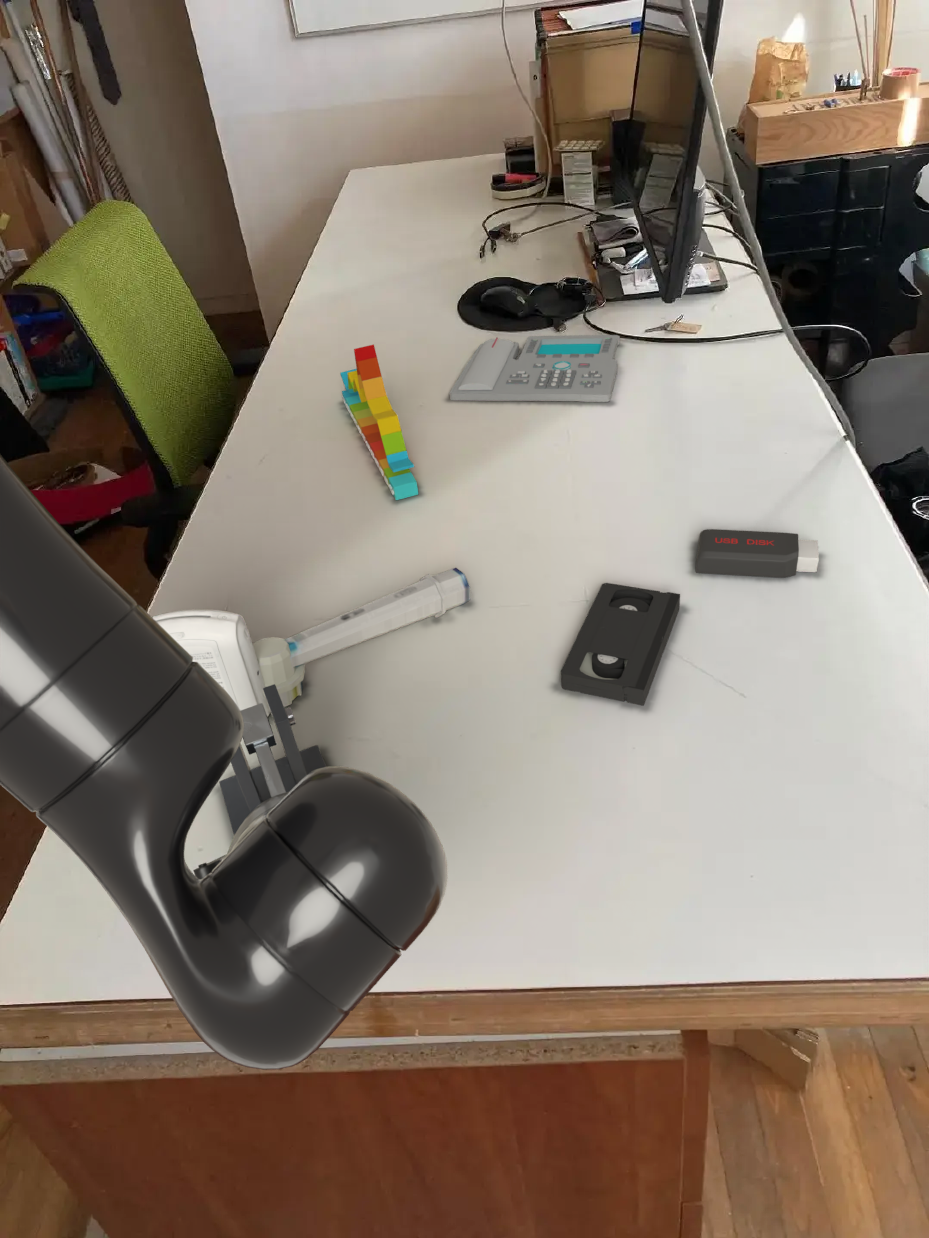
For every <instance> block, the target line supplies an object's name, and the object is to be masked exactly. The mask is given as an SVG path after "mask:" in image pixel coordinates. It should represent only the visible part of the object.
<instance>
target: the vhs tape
mask: <svg viewBox="0 0 929 1238" xmlns="http://www.w3.org/2000/svg"><path fill="white" fill-rule="evenodd" d="M680 605H681V593H675V592H671V591H667V592H663V591H660V590H654V589H648V588H641V587H635V586H630V585H622V584H616V583H611V582H604V583H601V586H600V587H599V590H598V592H597V594H596V596H595V598H594V600H593V603H592V605H591V607H590V609H589V611H588V613H587V614H586V617H585V619H584V622H583V623H582V626H581V627H580V630H579V632H578V634H577V636H576V638H575V640H574V642H573V644H572V646H571V648H570V651H569V652H568V655H567V657H566V659H565V661H564V663H563V665H562V667H561V669H560V682H561V684H560V685H561V688H562V689H563V690H565V691H570V692H578V693H580V694H585V695H590V696H595V697H599V698H605V699H608V700H609V699H610V700H615V701H619V702H625V701H626V703H629V704H634V705H638V706H643V707H644V706H645V703H646V701H647V699H648V696H649V693H650V690H651V688H652V685H653V682H654V679H655V677H656V673H657V672H658V668H659V666H660V663H661V661H662V658H663V654H664V652H665V650H666V648H667V644H668V641H669V638H670V636H671V633H672V631H673V627H674V625H675V622H676V620H677V617H678V614H679V612H680Z"/></svg>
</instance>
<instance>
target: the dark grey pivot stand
mask: <svg viewBox="0 0 929 1238" xmlns="http://www.w3.org/2000/svg"><path fill="white" fill-rule="evenodd" d="M263 691H264V694H265V697H266V700H267V703H268V706H269V708H270V711H271V712H270V714H271V717H272V720H273V724H274V726H275V728H276V732H277V735H278V738H279V741H280V744H281V746H282V748H283V752H284V756H283V757H281V758H278V759H274V760H275V763H276V766H277V768H278V771H279V774H280V777H281V780H282V783H283V785H284V788H285V791H286V792H289V791H290V790H291V789H292V788H293V787H294V786H295V785H296V784H297V783H299V782H300V781H301V780H302V779H303V778H304V777H305V776H306V775H308V774H309V773H310V772H312V771H314V770H316V769H319V768H323V767H327V764H326V762H325V760H324V757H323V754H322V751H321V750H320V748H319V745H318V744H316V745H313V746H310V747H307V748H304V749H302V750H299V746H298V743H297V740H296V738H295V733H294V731H293V728H292V726H295V725H296V724H297V721H296V718H295V715H294V713H293V710H292V708H291V707H290V706H289V707H284V706H283V703H282V701H281V698H280V695H279V693H278V690H277V688H276V685H275V684H273V685H271V686H268V687H265V688H263ZM230 764H231V767H232V769H233V771H234V775H232V776H230V777H227V778H225V779H224V778H223V779H222V780H219V781H218V783H219V786H220V790H221V794H222V798H223V801H224V806H225V808H226V812H227V815H228V819H229V822H230V827H231V830H232V834H233V836H234V835H235V834H236V832H237V830H238V829H239V827H240V826H241V824H242V823H243V821H244V820H245V819H246V817H247V816H248V815H249V814H250V813H251V812H252V811H253V810H254V809H255V808H256V807H257V806H258V805H260V804H261V803H262V802H264V801H266V800H267V799H269V798H271V795H270V792H269V789H268V786H267V783H266V780H265V777H264V774H263V771H262V769H261V766H260V765H259V766H257V767H254V768H251V767H250V764H249V761H248V758H247V756H246V753H245V750H244V748H243V746H242V743H241V742H240V745H239V748H238V750H237V751H236V753H235V755H234V757H233V759H232V760H231V762H230Z"/></svg>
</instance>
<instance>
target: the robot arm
mask: <svg viewBox="0 0 929 1238" xmlns="http://www.w3.org/2000/svg"><path fill="white" fill-rule="evenodd" d="M152 617H153V616H152V615H151V614H149V612H147V611H146V610H145V609H144V608H143V607H142V606H141V605H140V604H138V602H137V601H136V600H135V599H134V598H133V597H132V595H130V594H129V593H128V592H127V591H126V590H125V589H123V587H122V586H120V584H119V583H117V582H116V581H115V580H114V579H113V578H112V577H111V576H110V575H109V574H108V573H107V572H106V571H105V570H104V569H103V567H101V566H100V565H99V564H98V563H97V562H96V561H95V560H94V559H93V558H92V557H91V556H90V555H89V554H88V553H87V552H86V550H84V548H82V546H81V545H80V544H79V543H78V542H77V541H76V540H75V539H74V537H72V536H71V534H70V533H68V531H66V529H65V528H64V527H63V526H62V525H61V524H60V523H59V522H58V521H57V519H56V518H55V517H54V516H53V515H52V514H51V513H50V511H49V510H48V509H47V508H46V507H45V506H44V504H43V503H42V502H41V501H40V500H39V498H37V497H36V496H35V495H34V493H33V492H32V490H30V489H29V487H28V486H27V485H26V483H24V481H23V480H22V479H21V478H20V477H19V475H18V474H17V473H16V472H15V471H14V469H13V468H12V467H11V465H10V464H9V463H8V461H6V459H5V458H4V457H3V456H2V455H1V454H0V786H1V787H2V788H3V789H5V790H6V791H7V792H8V793H9V794H10V795H11V796H13V797H14V798H15V799H16V800H17V801H18V802H20V803H21V804H22V805H23V806H24V807H25V808H26V809H28V811H30V812H31V813H35V816H36V818H38V820H40V822H42V823H43V824H44V825H45V826H46V827H48V829H50V830H51V831H52V832H53V833H54V834H55V835H56V836H57V837H58V838H59V839H60V840H61V841H62V842H63V843H64V845H66V846H67V847H68V848H69V850H70V851H72V853H73V854H74V855H75V856H76V857H77V858H78V859H79V860H80V861H81V863H82V864H83V865H84V866H85V867H86V869H88V871H89V872H90V873H91V874H92V875H93V877H94V878H95V880H96V881H97V882H98V883H99V885H100V886H101V887H102V888H103V889H104V891H105V892H106V893H107V895H108V896H109V898H110V899H111V901H112V902H113V904H114V905H115V906H116V908H117V909H118V911H119V912H120V913H121V915H122V916H123V918H124V919H125V921H126V923H128V925H129V927H130V928H131V930H132V931H133V933H134V935H135V937H136V938H137V939H138V941H139V943H140V944H141V946H142V948H143V949H144V952H145V953H146V955H147V957H148V958H149V960H150V962H151V963H152V965H153V967H154V969H155V970H156V972H157V974H158V975H159V977H160V979H161V980H162V983H163V985H164V986H165V988H166V990H167V992H168V993H169V995H170V996H171V998H172V1000H173V1001H174V1003H175V1005H176V1007H177V1008H178V1010H179V1012H180V1013H181V1015H182V1016H183V1017H184V1019H185V1020H186V1021H187V1023H188V1024H189V1026H190V1027H191V1028H192V1030H193V1032H195V1034H196V1035H197V1037H198V1038H199V1039H200V1040H201V1041H202V1042H203V1043H204V1044H205V1045H206V1046H207V1047H208V1048H209V1049H210V1050H212V1051H213V1052H214V1053H215V1054H217V1055H219V1056H220V1057H222V1058H223V1059H225V1060H227V1061H229V1062H231V1063H233V1064H236V1065H238V1066H240V1067H245V1068H249V1069H256V1070H263V1071H267V1070H268V1071H269V1070H271V1071H272V1070H274V1071H275V1070H282V1069H287V1068H291V1067H294V1066H296V1065H299V1064H301V1063H303V1062H304V1061H306V1060H307V1059H308V1058H309V1057H311V1056H312V1055H313V1054H314V1053H316V1051H318V1050H319V1049H320V1048H321V1047H322V1045H323V1044H324V1043H325V1042H326V1041H327V1040H328V1039H329V1038H330V1037H331V1036H332V1035H333V1034H334V1032H336V1030H337V1029H338V1028H339V1027H340V1025H341V1024H342V1023H343V1022H344V1021H345V1020H346V1018H348V1017H349V1015H350V1013H351V1012H353V1011H354V1010H355V1009H356V1008H357V1006H358V1005H359V1004H360V1003H361V1002H362V1001H363V1000H364V998H365V997H366V996H367V995H368V994H369V993H370V991H371V990H372V989H373V988H374V987H375V986H376V985H377V984H378V982H380V980H381V979H383V977H384V976H385V974H386V973H388V971H389V970H390V969H391V968H392V966H394V964H395V963H396V962H397V961H398V960H399V959H400V957H402V951H403V952H406V951H407V950H408V949H409V948H410V947H411V945H413V943H414V942H415V941H416V940H417V939H418V938H419V936H420V935H421V934H423V932H424V931H425V930H426V928H427V927H428V926H429V925H430V923H431V922H432V921H433V919H434V918H435V917H436V914H437V913H438V911H439V909H440V907H441V905H442V902H443V900H444V897H445V895H446V890H447V886H448V879H449V878H448V877H449V876H448V860H447V857H446V852H445V850H444V847H443V844H442V842H441V839H440V837H439V834H438V832H437V830H436V829H435V827H434V826H433V824H432V823H431V821H430V819H429V818H428V817H427V816H426V814H425V813H424V811H422V810H421V808H420V807H418V805H417V804H416V802H414V801H413V800H412V799H411V798H410V797H409V796H408V795H406V794H405V793H404V792H402V790H400V789H398V787H395V786H394V785H393V784H391V783H389V782H388V781H386V780H384V779H382V778H381V777H379V776H377V775H374V774H372V773H369V772H368V771H364V770H361V769H357V768H354V767H349V766H342V765H341V766H340V765H330V766H326V767H323V768H319V769H316V770H314V771H312V772H310V773H309V774H308V775H306V776H305V777H304V778H303V779H302V780H301V781H300V782H299V783H297V784H296V785H295V786H294V787H293V788H292V789H291V790H290V791H289V792H285V793H281V794H279V795H276V796H273V797H271V798H269V799H267V800H266V801H264V802H262V803H261V804H260V805H258V806H257V807H256V808H255V809H254V810H253V811H252V812H251V813H250V814H249V815H248V816H247V817H246V819H245V820H244V821H243V823H242V824H241V826H240V827H239V829H238V830H237V832H236V834H235V835H234V834H233V837H232V840H231V842H230V844H229V847H228V850H227V852H226V854H224V855H222V856H220V857H218V858H215V859H214V860H212V861H209V862H203V863H201V864H198V865H197V866H198V867H197V868H195V869H193V870H191V869H190V867H189V865H188V864H187V862H186V859H185V848H186V842H187V836H188V834H189V832H190V829H191V827H192V825H193V823H194V821H195V819H196V817H197V816H198V814H199V812H200V810H201V809H202V807H203V805H204V803H205V802H206V800H207V799H208V797H209V796H210V794H211V793H212V792H213V790H214V788H215V787H216V785H217V784H218V783H219V781H220V779H221V778H222V776H223V775H224V774H225V772H226V770H227V769H228V768H229V766H230V764H231V760H232V759H233V757H234V755H235V753H236V751H237V750H238V748H239V745H240V743H241V742H242V740H243V737H242V736H243V732H244V721H243V717H242V714H241V711H240V709H239V708H238V706H237V704H236V703H235V702H234V700H233V699H232V698H231V697H230V695H229V694H228V693H227V692H226V691H225V690H224V688H223V687H222V686H221V685H220V684H219V683H218V682H217V681H216V680H215V679H214V678H213V677H212V676H211V675H210V674H209V673H208V672H207V671H206V670H205V669H204V668H203V667H202V666H201V665H200V664H199V663H198V662H193V657H192V656H191V655H190V654H189V653H188V652H187V651H186V650H185V649H184V648H182V647H181V646H180V645H179V644H178V643H177V642H176V641H175V640H174V639H173V638H172V637H171V636H170V635H169V634H168V633H167V632H166V631H165V630H164V629H163V628H162V627H161V626H160V625H159V624H158V623H157V622H156V621H155V620H154V619H153V618H152Z"/></svg>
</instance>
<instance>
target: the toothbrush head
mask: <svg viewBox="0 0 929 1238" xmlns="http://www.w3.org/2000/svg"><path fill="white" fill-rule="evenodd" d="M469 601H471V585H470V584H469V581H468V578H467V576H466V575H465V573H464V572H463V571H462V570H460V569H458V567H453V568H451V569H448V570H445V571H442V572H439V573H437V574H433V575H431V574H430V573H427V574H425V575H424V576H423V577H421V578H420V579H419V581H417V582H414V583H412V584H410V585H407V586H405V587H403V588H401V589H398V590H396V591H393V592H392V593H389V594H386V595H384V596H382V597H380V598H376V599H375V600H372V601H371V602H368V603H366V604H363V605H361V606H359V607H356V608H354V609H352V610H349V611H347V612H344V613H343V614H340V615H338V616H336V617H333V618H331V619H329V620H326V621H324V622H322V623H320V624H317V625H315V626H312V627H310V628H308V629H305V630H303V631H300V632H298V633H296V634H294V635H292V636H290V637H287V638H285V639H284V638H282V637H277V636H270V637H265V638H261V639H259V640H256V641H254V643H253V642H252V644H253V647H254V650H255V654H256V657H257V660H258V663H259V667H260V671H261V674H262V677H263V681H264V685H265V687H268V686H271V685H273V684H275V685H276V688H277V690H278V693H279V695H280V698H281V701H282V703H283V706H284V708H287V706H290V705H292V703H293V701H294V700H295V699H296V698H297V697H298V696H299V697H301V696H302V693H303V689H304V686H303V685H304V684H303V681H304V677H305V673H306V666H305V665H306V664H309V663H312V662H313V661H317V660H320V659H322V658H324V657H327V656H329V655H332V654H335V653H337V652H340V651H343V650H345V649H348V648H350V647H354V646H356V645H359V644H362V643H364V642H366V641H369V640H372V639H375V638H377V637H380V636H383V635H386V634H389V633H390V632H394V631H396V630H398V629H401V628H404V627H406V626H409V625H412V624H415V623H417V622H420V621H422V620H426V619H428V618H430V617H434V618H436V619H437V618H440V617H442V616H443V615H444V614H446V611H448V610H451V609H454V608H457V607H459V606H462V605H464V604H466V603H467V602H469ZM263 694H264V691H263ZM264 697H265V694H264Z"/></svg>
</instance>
